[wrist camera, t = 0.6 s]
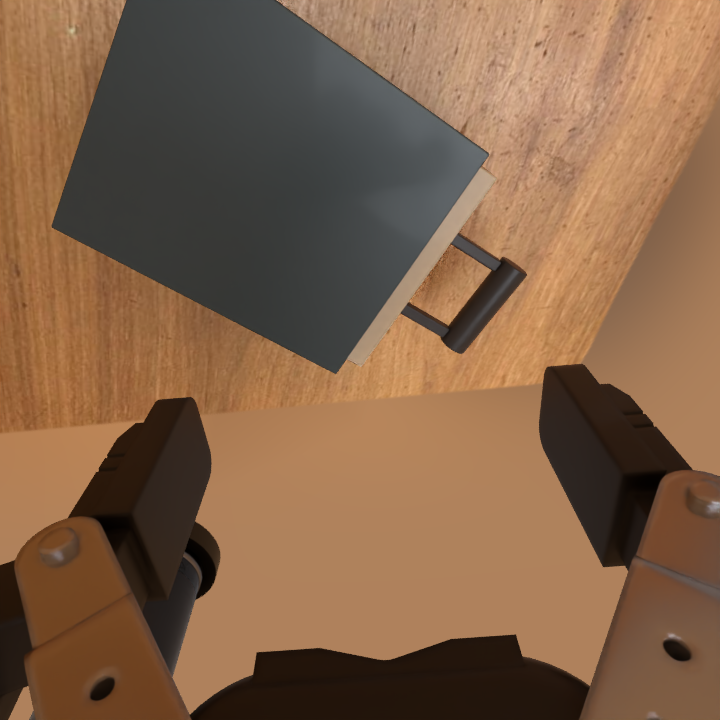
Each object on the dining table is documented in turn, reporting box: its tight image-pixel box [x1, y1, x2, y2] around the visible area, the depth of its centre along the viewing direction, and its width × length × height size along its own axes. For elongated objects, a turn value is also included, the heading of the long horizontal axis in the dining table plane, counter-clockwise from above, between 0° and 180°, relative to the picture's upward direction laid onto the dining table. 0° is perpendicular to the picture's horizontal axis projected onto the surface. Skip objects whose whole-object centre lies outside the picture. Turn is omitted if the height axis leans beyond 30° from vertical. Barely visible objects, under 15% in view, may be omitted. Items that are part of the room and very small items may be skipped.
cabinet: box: [52, 0, 489, 374], centre depth 26 cm, size 15×13×10 cm
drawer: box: [347, 166, 527, 367], centre depth 28 cm, size 18×11×8 cm, turn 57°
